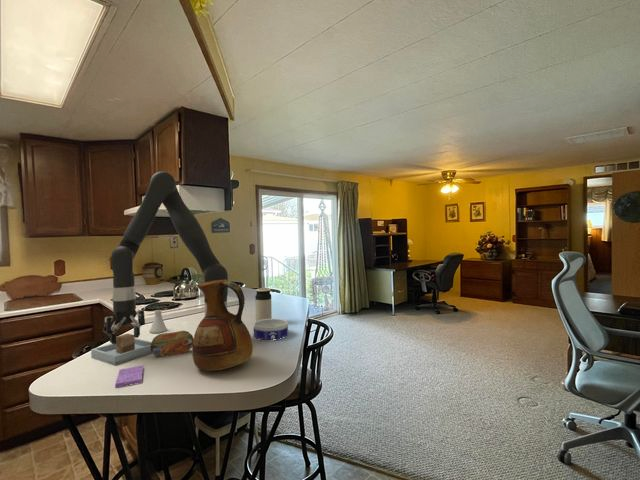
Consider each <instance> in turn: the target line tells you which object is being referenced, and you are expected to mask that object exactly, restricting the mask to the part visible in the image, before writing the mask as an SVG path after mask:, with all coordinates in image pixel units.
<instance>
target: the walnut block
mask: <svg viewBox="0 0 640 480" xmlns="http://www.w3.org/2000/svg"><path fill="white" fill-rule="evenodd" d="M132 350H135V336H134V334H132V333H125V334H121V335H118V336H117V335H116V352H117V353H120V354H122V353H125V352H128V351H132Z"/></svg>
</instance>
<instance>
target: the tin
mask: <svg viewBox="0 0 640 480" xmlns="http://www.w3.org/2000/svg"><path fill="white" fill-rule="evenodd" d="M193 340H194V336H193V334H192V333H190V332H189V331H186V330H179V331H177V330H176V331H171V332H165V333H164V332H162V333H158V335H156V336H154V338H153V339H152V341H150V342H151V346H150V348H151V352H152V353H151V354H153V356H155V357H159V358H163V357H169V356H174V355H181V354H186V353H187V352H189V351H190V350H192V346H193Z"/></svg>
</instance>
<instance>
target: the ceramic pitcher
mask: <svg viewBox="0 0 640 480" xmlns="http://www.w3.org/2000/svg"><path fill="white" fill-rule="evenodd" d="M195 285H196V287H197V288H198V289H200V290H201V292H202V294H203V295H204V296H205V300H206V304H207V310H206V316H205V315H204V317H203V318H202V319H201V320H200V321H199V323H198V325H197V327H196V329H195V332H194V336H193V338H194V340H193V346H192V348H191V350H192V354H191V355H192V359H193V363H194V365H195V367H196V368H198V369H199V370H202V371H221V370H226V369H231V368H232V367H233V368H234V367H236V366H238V365H242V364H244V363H245V362H247V361H248V360H250V358H251V357H252V356H253V348H254V347H253V340H252V336H251V334H250V331H249V329H248V327H247V326H246V324H245V323H244V322H243V320H242V316H243V312H244V311H243V310H244V308H245V300H246V298H245V294H244V291H243V289H242V287H241V286H240V285H239V284H237V283H236V282H234V281H233V280H229V279H228V280H226V279H224V280H217V281H210V282H205V281H204V282H200V283H197V284H195ZM225 287H228V289H230V290H232V291H233V292H234V293H235V295H236V297H237V300H238V310H237V313H236V314H234V313H232V312H230V311H229V310H228V307H227V308H226V306H225V302H224V296H223V292H224V288H225ZM204 296H203V297H204Z"/></svg>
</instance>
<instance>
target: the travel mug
mask: <svg viewBox="0 0 640 480" xmlns="http://www.w3.org/2000/svg"><path fill="white" fill-rule="evenodd" d="M255 291H256V293H255V299H254V300H255V322H256V321H259V320H263V319H273V317H272V316H273V314H272V293H271V291H272V290H271V288H269V287H268V288H267V287H262V288H257V289H255Z"/></svg>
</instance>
